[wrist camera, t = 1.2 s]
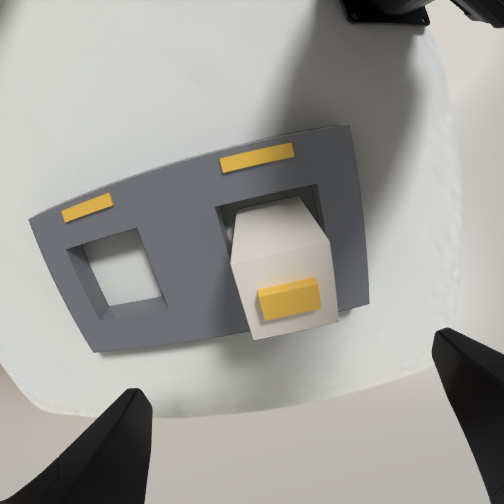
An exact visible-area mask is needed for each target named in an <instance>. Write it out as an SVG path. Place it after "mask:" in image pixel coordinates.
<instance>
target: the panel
mask: <svg viewBox="0 0 504 504" xmlns="http://www.w3.org/2000/svg"><path fill="white" fill-rule="evenodd" d="M308 185H312V188H313V193H314V199H315V204H316V210H317V216H318V222H319V227H320V228H321V229H322V231H323V232H324V234H325V235H326V237H327V238H328V240H329V241H330V248H331V255H332V263H333V270H334V279H335V287H336V296H337V306H338V312H340V311H344V310H348V309H352V308H356V307H360V306H363V305H367V304H369V282H368V265H367V251H366V239H365V229H364V219H363V210H362V202H361V194H360V187H359V180H358V173H357V166H356V160H355V154H354V148H353V143H352V137H351V132H350V127H349V125H338V126H331V127H325V128H319V129H313V130H307V131H302V132H297V133H291V134H286V135H281V136H276V137H272V138H267V139H262V140H258V141H253V142H249V143H245V144H241V145H236V146H232V147H228V148H224V149H221V150H217V151H213V152H209V153H205V154H202V155H198V156H195V157H191V158H188V159H184V160H181V161H178V162H174V163H171V164H168V165H164V166H161V167H158V168H155V169H152V170H149V171H146V172H143V173H140V174H137V175H134V176H131V177H128V178H125V179H122V180H120V181H117V182H114V183H111V184H109V185H106V186H103V187H101V188H98V189H95V190H93V191H90V192H88V193H85V194H83V195H80V196H78V197H75V198H73V199H70V200H68V201H66V202H63V203H61V204H59V205H56V206H54V207H52V208H49V209H47V210H45V211H43V212H41V213H39V214H37V215H35V216H34V217H32V218H30V219H28V220H29V222H30V225H31V228H32V230H33V233H34V236H35V238H36V241H37V243H38V246H39V248H40V250H41V253H42V255H43V258H44V260H45V262H46V264H47V267H48V269H49V271H50V273H51V275H52V278H53V280H54V282H55V284H56V286H57V288H58V290H59V292H60V294H61V296H62V298H63V300H64V302H65V304H66V306H67V308H68V310H69V311H70V313H71V315H72V317H73V319H74V321H75V322H76V324H77V326H78V328H79V329H80V331H81V333H82V335H83V336H84V338H85V340H86V341H87V343H88V345H89V346H90V348H91V349H92V351H93V353H97V352H108V351H118V350H128V349H137V348H145V347H153V346H161V345H169V344H176V343H183V342H190V341H196V340H203V339H209V338H215V337H221V336H227V335H232V334H238V333H243V332H249V331H251V330H250V327H249V324H248V321H247V317H246V314H245V311H244V308H243V304H242V301H241V298H240V294H239V291H238V288H237V284H236V281H235V278H234V274H233V271H232V268H231V264H230V262H231V254H232V248H231V244H230V241H229V237H228V234H227V230H226V226H225V223H224V219H223V216H222V212H221V209H220V205H224V204H228V203H232V202H236V201H241V200H245V199H249V198H253V197H258V196H262V195H267V194H271V193H276V192H280V191H285V190H289V189H294V188H299V187H304V186H308ZM134 228H137V229H138V232H139V235H140V237H141V240H142V243H143V245H144V248H145V251H146V253H147V256H148V259H149V261H150V264H151V266H152V269H153V271H154V274H155V276H156V279H157V281H158V284H159V286H160V289H161V291H162V294H163V297H157V298H152V299H147V300H142V301H136V302H131V303H126V304H120V305H115V306H109V305H108V303H107V301H106V299H105V297H104V295H103V293H102V291H101V289H100V287H99V285H98V282H97V280H96V278H95V276H94V274H93V271H92V269H91V267H90V264H89V262H88V260H87V257H86V255H85V253H84V250H83V248H82V245H81V244H84V243H87V242H90V241H93V240H97V239H100V238H103V237H107V236H110V235H113V234H117V233H120V232H123V231H127V230H130V229H134Z"/></svg>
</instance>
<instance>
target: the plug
mask: <svg viewBox="0 0 504 504" xmlns="http://www.w3.org/2000/svg"><path fill="white" fill-rule="evenodd" d="M230 264H231V268H232V271H233V274H234V278H235V281H236V284H237V288H238V291H239V294H240V298H241V301H242V304H243V308H244V311H245V314H246V317H247V321H248V324H249V327H250V330H251V334H252V337H253V340H257V339H262V338H267V337H272V336H277V335H282V334H287V333H292V332H296V331H301V330H305V329H310V328H314V327H318V326H323V325H327V324H331V323H335V322H339V316H338V306H337V296H336V287H335V279H334V270H333V263H332V255H331V248H330V241H329V240H328V238H327V237H326V235H325V234H324V232H323V231H322V229H321V228H320V227H319V225H318V224H317V222H316V221H315V219H314V218H313V216H312V215H311V213H310V212H309V211H308V209H307V208H306V206H305V205H304V203H303V202H302V201H301V199H300V198H299V196H296V197H291V198H286V199H282V200H277V201H273V202H268V203H264V204H259V205H255V206H251V207H246V208H242V209H238V210H237V214H236V222H235V230H234V238H233V246H232V254H231V262H230Z"/></svg>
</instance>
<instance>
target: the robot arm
mask: <svg viewBox="0 0 504 504" xmlns="http://www.w3.org/2000/svg"><path fill="white" fill-rule="evenodd" d="M432 1H434V0H340V2H341V5H342V7H343V10H344V13H345V16H346V19H347V21H348V22H350V23H352V24H386V25H406V26H419V27H426V26H428V25H429V24H430V20H429V17H428V14H427V11H426V9H425V5H426V4H429V3H430V2H432ZM450 1H452V2H453V3H454V4H455V5H456V6H458V7H459V8H460V9H461V10H462V11H463V12H464V14H465V15H466V16H467V17H468V18H469V19H470V20H472V21H482V22H485V23H490V24H491V25H492V26H493V27H494V28H504V0H450ZM351 15H355V16H356V17H357V19H353V18H352V16H351ZM421 18H422V19H423V20H424V22H423V21H422V20H421ZM432 358H433V360H434V363H435V366H436V368H437V371H438V373H439V376H440V379H441V381H442V384H443V387H444V390H445V392H446V395H447V397H448V400H449V402H450V404H451V406H452V408H453V410H454V412H455V414H456V416H457V419H458V421H459V423H460V425H461V428H462V430H463V432H464V434H465V437H466V439H467V441H468V443H469V446H470V448H471V451H472V453H473V455H474V458H475V460H476V463H477V465H478V468H479V471H480V473H481V476H482V478H483V481H484V484H485V487H486V490H487V493H488V496H489V497H490V498H489V499H490V502H491V504H504V354H502V353H500V352H498V351H496V350H494V349H492V348H490V347H488V346H486V345H484V344H481V343H479V342H477V341H475V340H473V339H471V338H469V337H467V336H465V335H463V334H461V333H459V332H457V331H455V330H453V329H451V328H443V329H441V330H438V331H436V333H435V336H434V341H433V346H432ZM152 413H153V410H152V406H151V403H150V402H149V400H148V399H147V398H146V396H145V395H144V393H143V392H142V390H141V389H139V388H129V389H127V390H126V391H125V392H124V393H123V394H122V395H121V396H120V397H119V398H118V399H117V400H116V401H115V402H114V403H113V404H111V405H110V406H109V407H108V408H107V409H106V410H105V411H104V412H103V413H102V414H101V415H100V416H99V417H98V418H97V419H96V420H95V421H94V422H93V423H92V424H91V425H90V426H89V427H88V428H87V429H86V430H85V431H84V432H83V433H82V434H81V435H80V436H79V437H78V438H77V439H76V440H75V441H74V442H73V443H72V444H71V445H70V446H69V447H68V448H67V449H66V450H65V451H64V452H63V453H62V454H61V455H60V456H59V458H57V459H55V460H54V461H53V462H52V463H51V464H50V465H49V466H48V467H47V468H46V469H45V470H44V471H43V472H42V473H40V474H39V475H38V476H37V477H36V478H34V479H33V480H32V481H31V482H30V483H28V484H27V485H26V486H24V487H23V488H22V489H20V490H19V491H18V492H17V493H15V494H14V495H13V496H11V497H10V498H8V499H6V500H3V501H0V504H144V502H145V494H146V485H147V477H148V469H149V462H150V454H151V437H152V436H151V435H152Z"/></svg>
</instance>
